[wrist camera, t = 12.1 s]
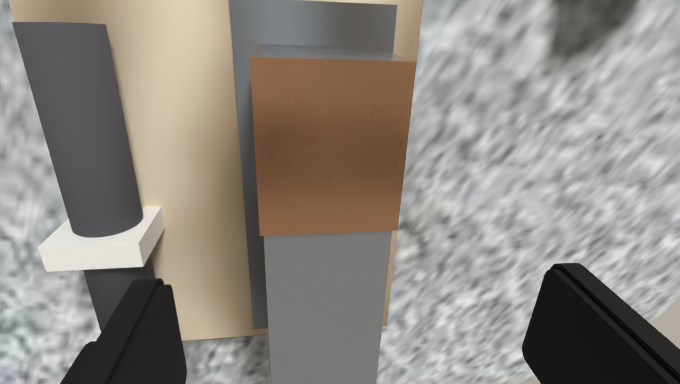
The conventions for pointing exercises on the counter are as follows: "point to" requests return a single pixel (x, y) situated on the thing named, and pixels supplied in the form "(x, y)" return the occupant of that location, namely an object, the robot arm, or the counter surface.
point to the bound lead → (89, 161)
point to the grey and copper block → (328, 202)
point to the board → (214, 128)
